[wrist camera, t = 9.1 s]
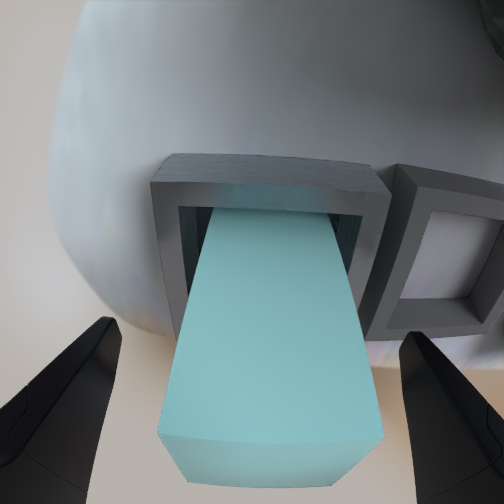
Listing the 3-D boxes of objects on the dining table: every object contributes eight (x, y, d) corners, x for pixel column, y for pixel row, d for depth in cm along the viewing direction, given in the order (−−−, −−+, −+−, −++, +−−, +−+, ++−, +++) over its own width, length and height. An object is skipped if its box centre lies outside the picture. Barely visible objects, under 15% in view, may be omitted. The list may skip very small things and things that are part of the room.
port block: (369, 165, 11) (391, 194, 9) (335, 306, 15) (343, 347, 13) (171, 153, 11) (150, 181, 9) (186, 299, 15) (176, 340, 13)
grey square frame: (526, 190, 11) (550, 212, 9) (472, 308, 15) (485, 333, 14) (397, 164, 11) (418, 186, 9) (355, 310, 15) (363, 341, 14)
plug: (323, 200, 12) (384, 437, 5) (309, 281, 14) (331, 486, 7) (217, 194, 12) (157, 433, 5) (219, 276, 14) (187, 481, 7)
